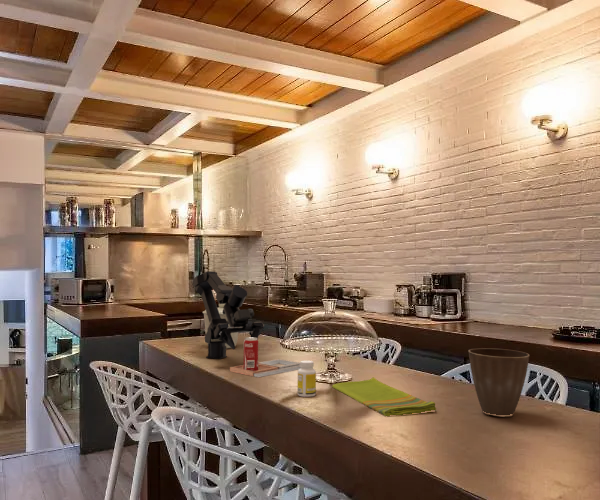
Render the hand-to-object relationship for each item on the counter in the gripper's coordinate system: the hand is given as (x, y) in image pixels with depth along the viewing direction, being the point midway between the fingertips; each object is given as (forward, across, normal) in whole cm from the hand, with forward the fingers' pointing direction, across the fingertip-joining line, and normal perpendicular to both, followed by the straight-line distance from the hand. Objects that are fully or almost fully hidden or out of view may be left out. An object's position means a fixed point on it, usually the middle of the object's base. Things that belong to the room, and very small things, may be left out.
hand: (245, 348), depth 203 cm
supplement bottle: (+38, -3, -27) cm, 47 cm away
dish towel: (+48, +13, -37) cm, 62 cm away
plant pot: (+67, +30, -57) cm, 93 cm away
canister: (-31, +13, +42) cm, 54 cm away
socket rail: (+9, +7, +1) cm, 12 cm away
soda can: (+10, -1, +1) cm, 10 cm away
